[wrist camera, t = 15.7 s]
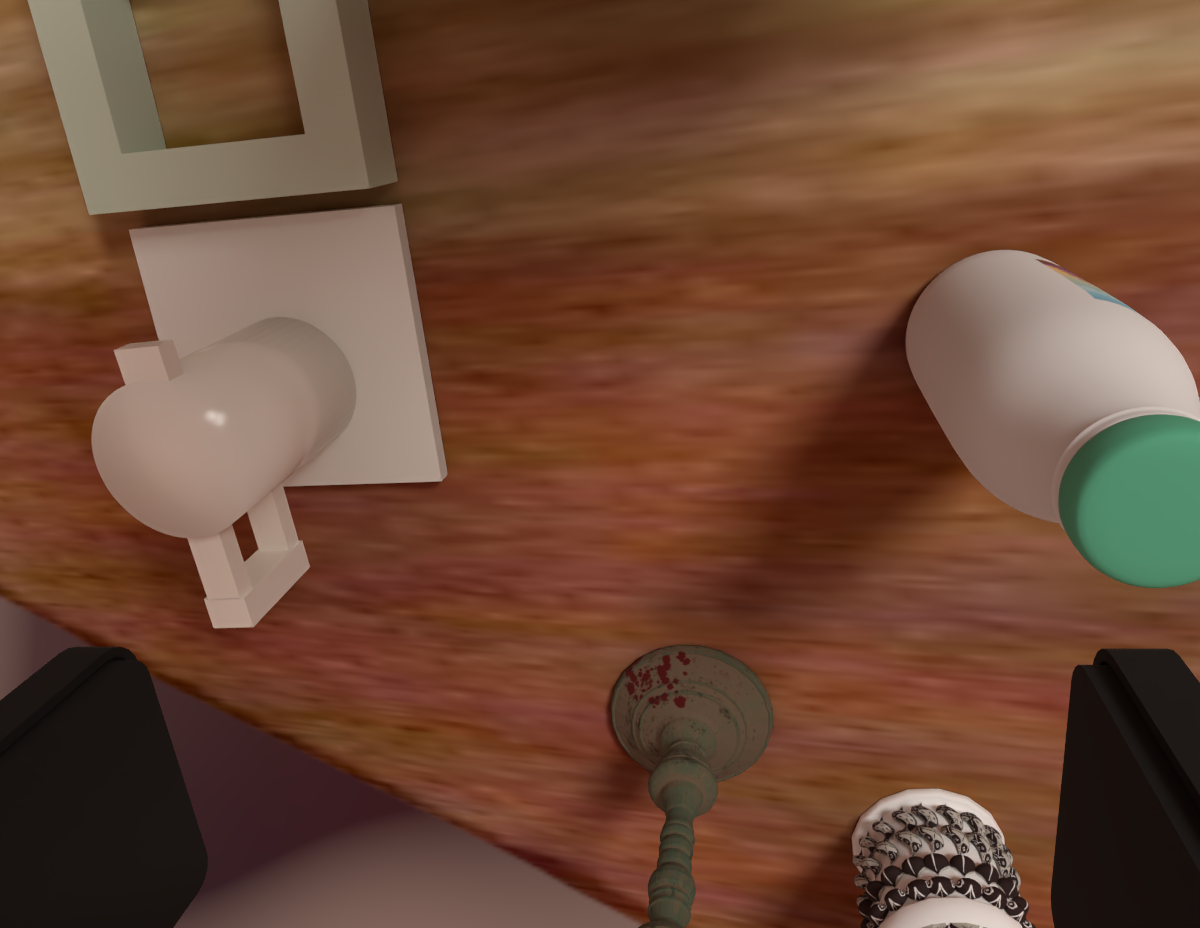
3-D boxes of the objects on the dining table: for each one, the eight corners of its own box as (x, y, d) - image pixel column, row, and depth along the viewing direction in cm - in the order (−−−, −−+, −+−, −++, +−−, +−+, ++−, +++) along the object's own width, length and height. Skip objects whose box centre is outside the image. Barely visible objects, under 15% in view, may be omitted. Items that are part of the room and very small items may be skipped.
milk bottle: (908, 422, 44) (1013, 653, 26) (897, 261, 42) (1006, 392, 23) (1082, 402, 43) (1326, 634, 24) (1082, 233, 40) (1355, 351, 22)
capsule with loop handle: (204, 298, 46) (56, 357, 37) (331, 284, 45) (211, 341, 35) (273, 530, 51) (158, 635, 42) (390, 524, 50) (298, 631, 40)
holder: (49, -115, 42) (-11, -132, 38) (339, -164, 39) (302, -187, 36) (135, 206, 46) (89, 215, 43) (398, 181, 44) (369, 188, 41)
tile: (140, 227, 47) (128, 229, 46) (401, 203, 44) (394, 205, 43) (209, 482, 52) (199, 489, 51) (447, 474, 49) (441, 481, 48)
